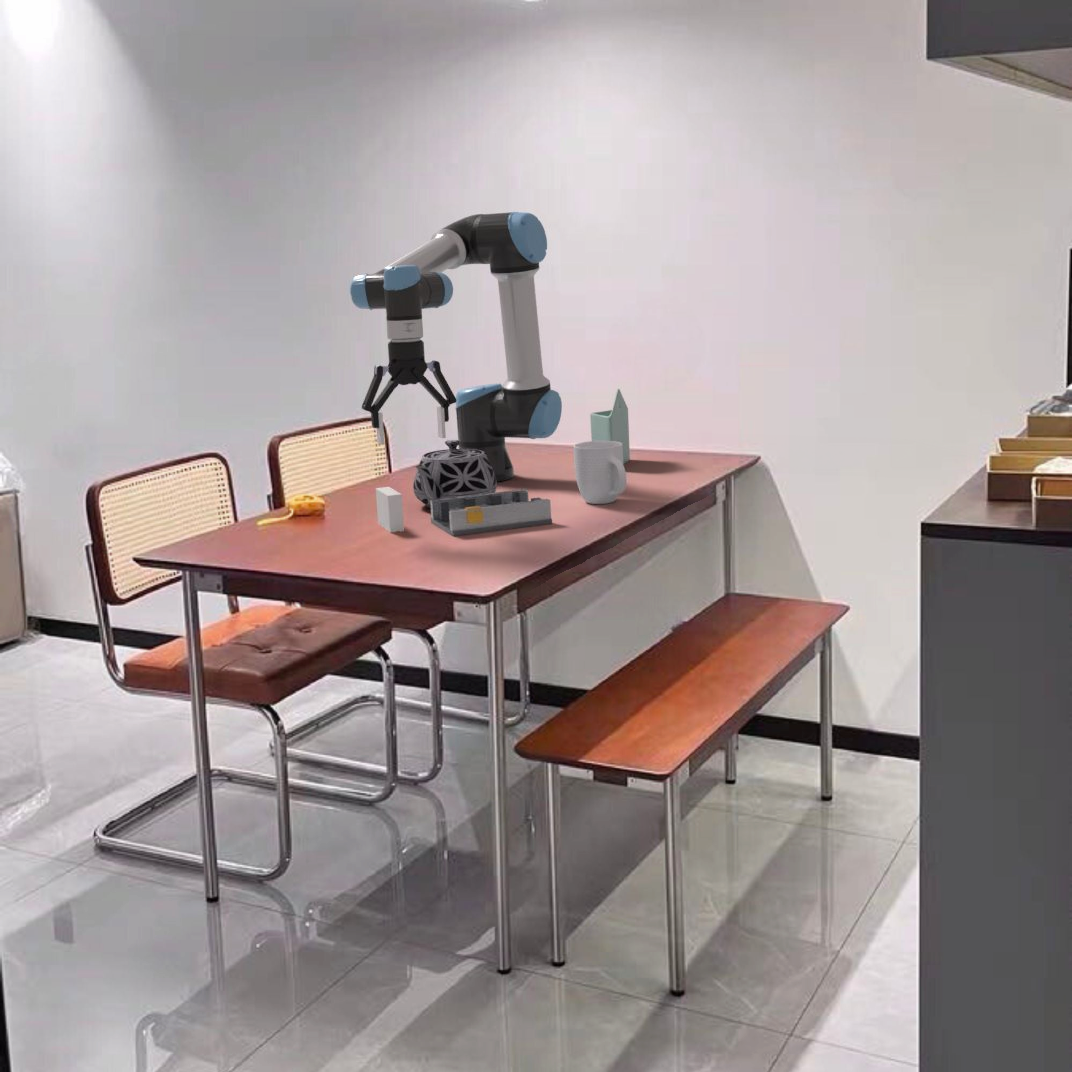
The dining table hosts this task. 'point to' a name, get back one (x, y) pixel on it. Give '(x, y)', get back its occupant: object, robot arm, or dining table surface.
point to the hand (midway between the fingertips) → (411, 440)
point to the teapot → (453, 474)
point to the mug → (599, 470)
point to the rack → (489, 512)
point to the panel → (389, 509)
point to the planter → (612, 425)
